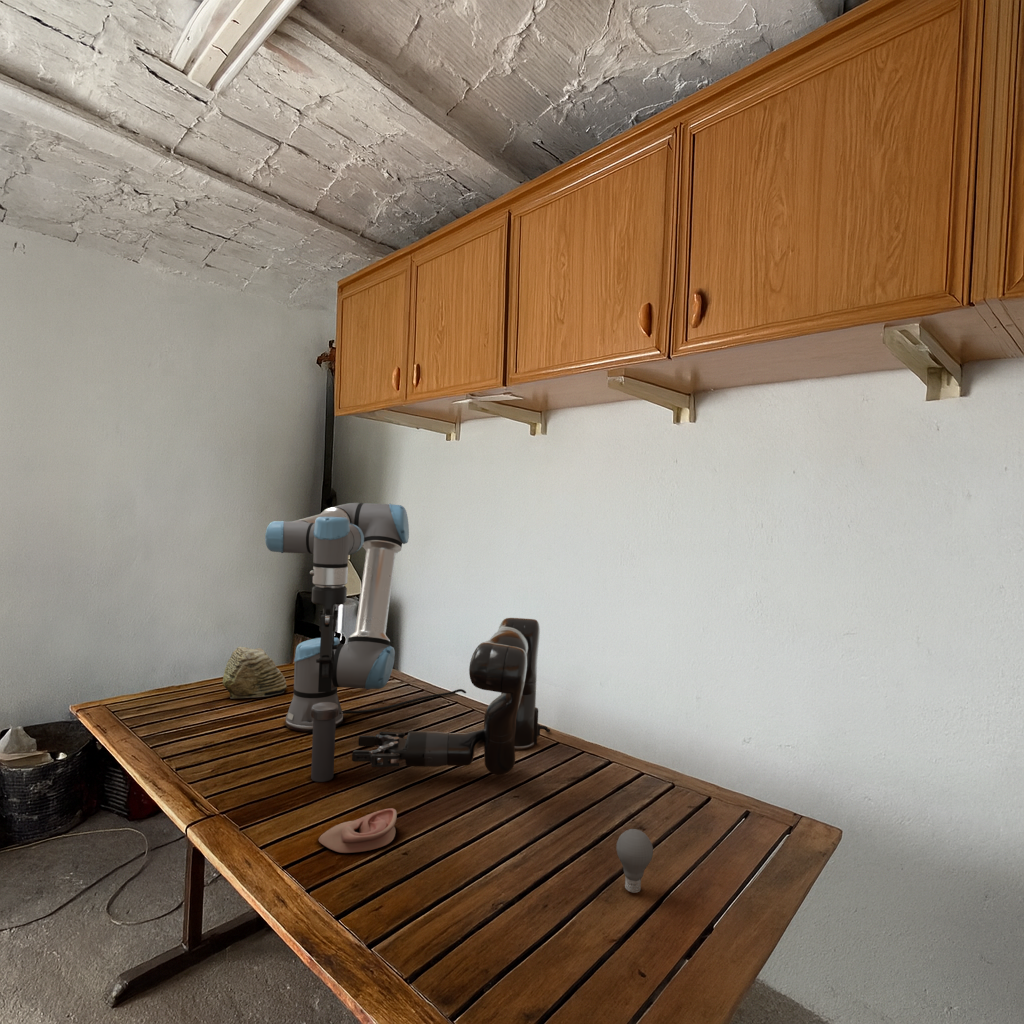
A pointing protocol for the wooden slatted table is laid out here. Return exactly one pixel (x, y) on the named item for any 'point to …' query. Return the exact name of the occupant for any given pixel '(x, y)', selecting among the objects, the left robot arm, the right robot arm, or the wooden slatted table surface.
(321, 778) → the dark grey cylinder
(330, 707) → the lid
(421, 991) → the wooden slatted table surface
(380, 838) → the anatomical model
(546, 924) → the wooden slatted table surface
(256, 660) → the fossil
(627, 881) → the light bulb
